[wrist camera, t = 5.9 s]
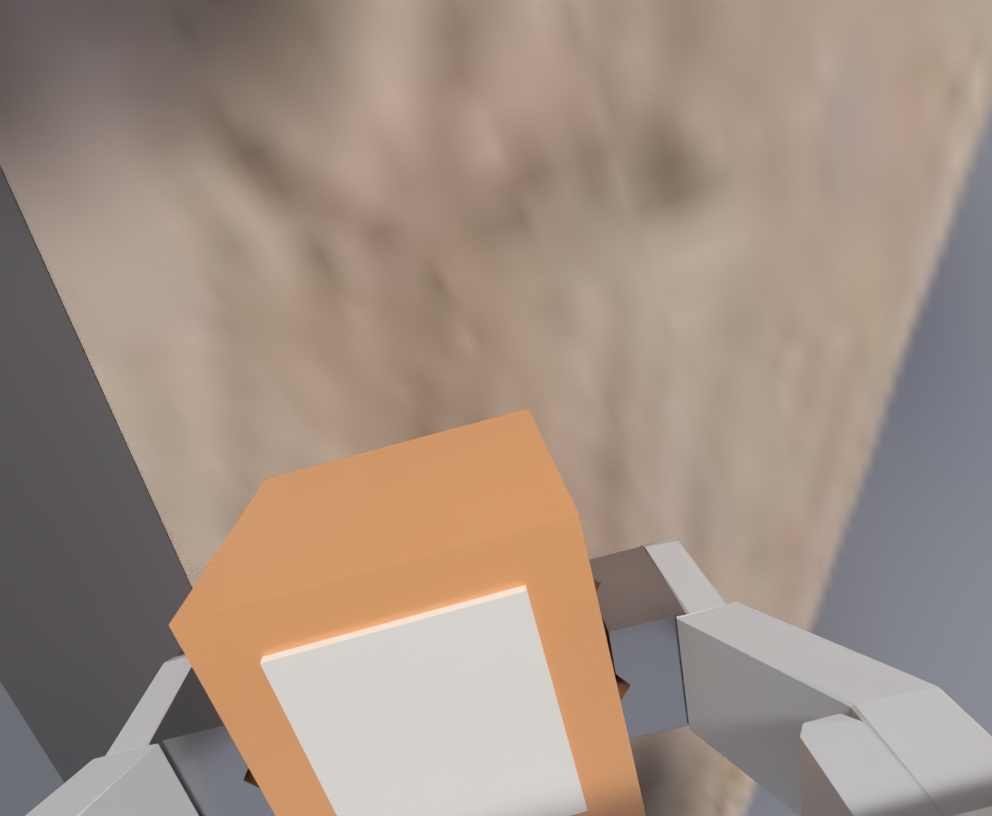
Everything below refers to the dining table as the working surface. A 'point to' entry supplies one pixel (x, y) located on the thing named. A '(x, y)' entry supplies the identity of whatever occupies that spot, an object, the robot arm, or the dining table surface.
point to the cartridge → (416, 636)
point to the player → (67, 545)
